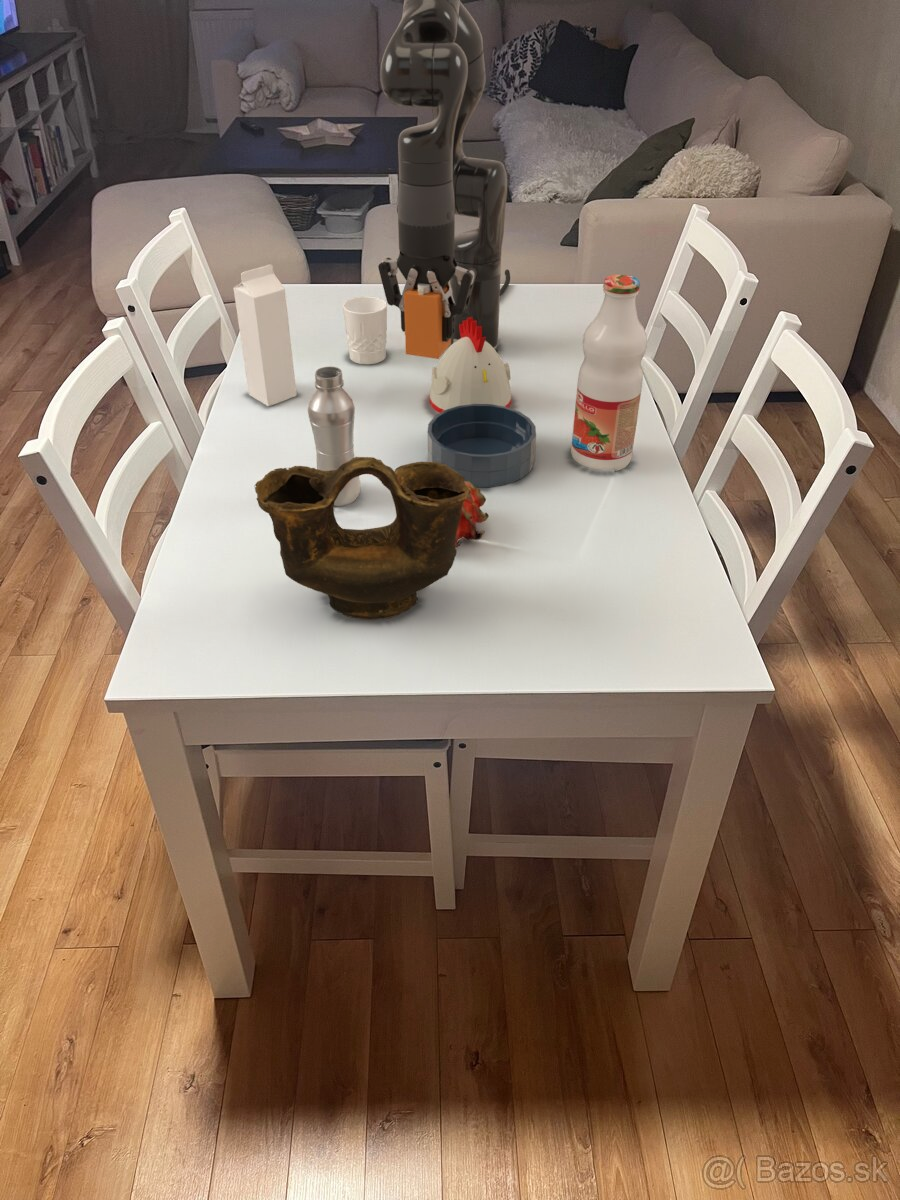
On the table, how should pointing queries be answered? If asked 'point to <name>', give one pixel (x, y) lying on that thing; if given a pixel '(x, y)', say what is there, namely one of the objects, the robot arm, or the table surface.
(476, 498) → the dragon fruit
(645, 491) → the table surface
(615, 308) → the fruit juice
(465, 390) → the kitchen timer
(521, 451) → the bowl
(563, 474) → the table surface
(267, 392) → the milk
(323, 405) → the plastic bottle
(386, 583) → the pottery vessel
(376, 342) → the white cup
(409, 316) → the carton
